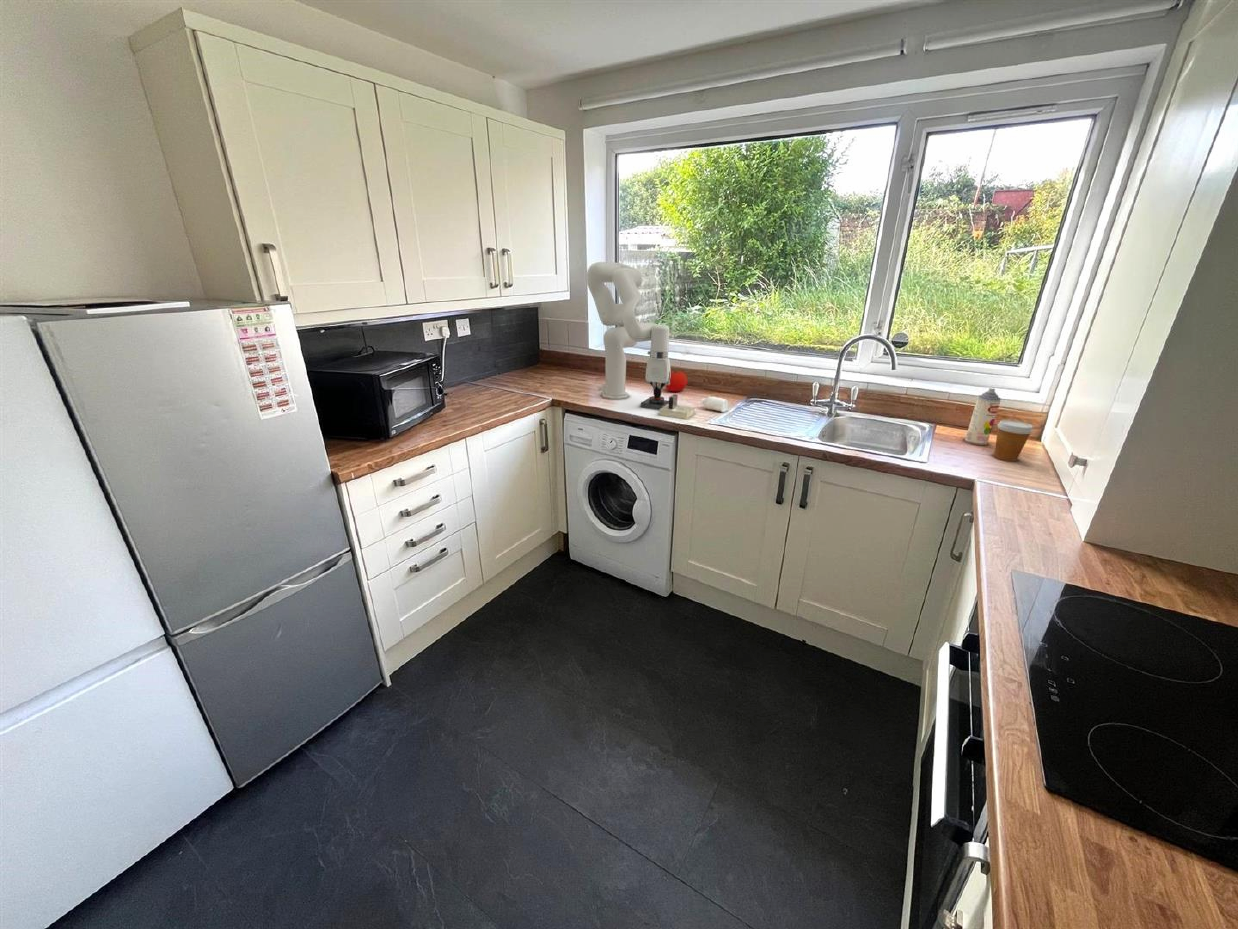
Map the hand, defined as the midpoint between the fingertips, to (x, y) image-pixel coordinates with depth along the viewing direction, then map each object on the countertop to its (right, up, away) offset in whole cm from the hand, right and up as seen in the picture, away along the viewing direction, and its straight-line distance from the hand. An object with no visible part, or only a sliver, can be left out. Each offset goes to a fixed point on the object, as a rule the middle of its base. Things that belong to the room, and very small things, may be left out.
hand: (657, 397), depth 218 cm
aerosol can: (+114, -21, -35) cm, 121 cm away
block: (0, -4, +2) cm, 4 cm away
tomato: (+11, +7, +31) cm, 34 cm away
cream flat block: (+8, -8, -9) cm, 14 cm away
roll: (+24, -5, 0) cm, 25 cm away
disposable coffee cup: (+113, -27, -50) cm, 127 cm away
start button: (0, -2, +1) cm, 2 cm away
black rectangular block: (+6, -6, -9) cm, 12 cm away
